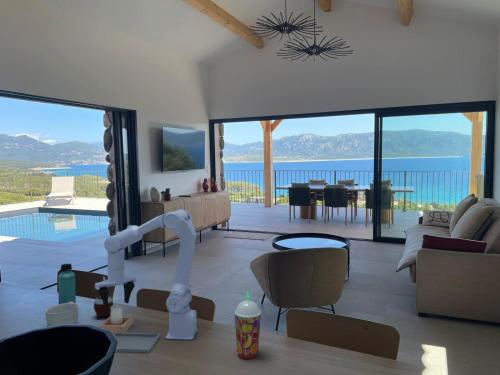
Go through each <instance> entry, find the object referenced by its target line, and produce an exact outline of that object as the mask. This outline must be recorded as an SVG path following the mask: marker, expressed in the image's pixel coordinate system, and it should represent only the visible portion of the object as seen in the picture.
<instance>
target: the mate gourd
mask: <svg viewBox="0 0 500 375" xmlns="http://www.w3.org/2000/svg"><path fill="white" fill-rule="evenodd" d="M102 278H103V280H102V281H105V280H106V277H105V276H103V277H102ZM111 306H114V300H113V299H112V296H110V295H108V308H105V307H104V305H103V301H102V298H101V296H100V295H99V296H98V297H96V299H95V300H94V303H93V309H94V310H93V311H94V312H95V315H96V320H100V319H104V318H105V319H106V320H107V319H108V318H109V317H110V316H111Z"/></svg>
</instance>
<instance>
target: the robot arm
mask: <svg viewBox="0 0 500 375" xmlns="http://www.w3.org/2000/svg"><path fill="white" fill-rule="evenodd" d="M157 228H163V229H164V228H166V229H168V230H169V231H170V232H172V233H173V234H175V235H176V236H177V237H178V239H179V240H180V241H179V250H178V255H177V263H176V269H175V275H174V281H173V282H174V283H173V285H172V287H171V290H170V292H169V296H168V297H167V299H166V301H165V306H166V308H167V310H168V333H167V334H166V336H165V339H166V340H188V341H189V340H190V341H191V340H193V339H194V337H195V335H196V333H197V331H198V329H197V328H198V326H197V325H198V323H197V321H198V320H197V318H198V317H197V311H196V310H195V309H191V308H190V303H191V301H192V298H193V295H192V290H191V288H192V286H191V284H190V280H191V275H192V267H193V261H194V253H195V248H196V241H197V232H196V229H195V225H194V223H193V217H192V216H191V214H189V213H188V211H187V210H185V209H182V208H181V209H177V210H175V211H169V212H166V213H163V214H161V215H157V216H156V217H154V218H153V219H151V220H148V221H147V222H145V223H143V224H141V225H140V226H138V225H134V224H133V225H132V224H131V225H128V226H126V228H125V229H124V230H121V231H117V232H116V233H115V234H114V235H110V236H108V237H106V239H105V240H104V243H103V245H104V248H105V250H106V252H107V279H105V281H103V280H102V281H100V282H95V283H94V289H95V290H96V291H97V292H98V294H99V297H100V296H101V298H102V301H103V305H104V307H105V308H108V296H109V292H110V290H108V288H109V287H115V286H120V285H121V286H122V285H123V292H124V295H123V296H124V297H123V298H124V299H123V300H124V303H125V304H129V302H130V298H131V294H132V292H133V290H134V288H135V285H136V284H135V283H136V282H137V276H134V275H132V276H125V249H126V248H127V247H129V246H130V245H133V244H135V243H137V242H139V241H141V240H142V238H143V236H144V234H147V233H149V232H151V231H153V230H156V229H157Z"/></svg>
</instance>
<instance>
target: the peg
mask: <svg viewBox="0 0 500 375" xmlns="http://www.w3.org/2000/svg"><path fill="white" fill-rule="evenodd" d="M110 314H111V315H110V317H111V325H122V317H123V305H121V304H115V305H114V304H113V306H111V313H110Z"/></svg>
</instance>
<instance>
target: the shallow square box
mask: <svg viewBox="0 0 500 375" xmlns="http://www.w3.org/2000/svg"><path fill="white" fill-rule="evenodd" d="M132 325H133V317H131V316H129V317H128V316H122V325H111V316H109V318H108V319H107V318H106V320H105V321H104V322H102V323H101V324H100V325H99V329H100V328H104V329H107V330H109V331H111V332H112V333H113V334H114V333H115V332H116V333H127V331H128V330H129V329H130V327H132ZM113 334H112V335H113Z"/></svg>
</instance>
